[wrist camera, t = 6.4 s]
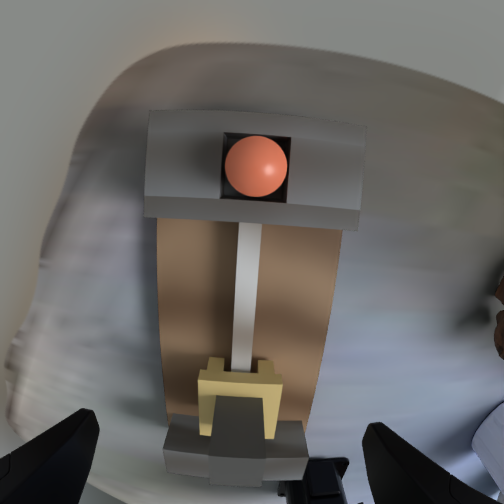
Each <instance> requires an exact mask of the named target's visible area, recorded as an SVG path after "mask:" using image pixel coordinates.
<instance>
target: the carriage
mask: <svg viewBox="0 0 504 504" xmlns="http://www.w3.org/2000/svg"><path fill="white" fill-rule="evenodd" d="M282 387H283V383H282V376H281V374H275V372H274V364H273V361H269V360H258V365H257V373H241V372H225V371H224V358H217V357H209V361H208V366H207V370H201V369H200V373H199V377H198V402H199V427H200V435H206V436H211V439H210V446H209V454H208V462H209V484H212V485H224V486H243V487H261V485H262V480H263V474H264V469H265V463H266V447H265V439H274V435H275V429H276V423H277V417H278V411H279V405H280V399H281V393H282Z"/></svg>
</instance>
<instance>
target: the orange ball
mask: <svg viewBox="0 0 504 504" xmlns="http://www.w3.org/2000/svg"><path fill="white" fill-rule="evenodd" d="M225 171H226V175H227V178H228V180H229V182H230V184H231V185H232V186H233V187H234V188H235V189H236V190H237V191H239V192H240V193H242V194H244V195H247V196H252V197H260V196H265V195H268V194H270V193H272V192H274V191H275V190H276V189H277V188H278V187H279V186H280V185H281V184H282V182H283V181H284V178H285V176H286V172H287V161H286V157H285V154H284V152H283V151H282V149H281V148H280V146H279V145H278V144H276V143H275V142H274V141H272V140H271V139H268V138H266V137H262V136H250V137H246V138H244V139H241V140H240V141H238V142H237V143H236V144H235V145H233V147H232V148H231V149H230V151H229V152H228V155H227V157H226V161H225Z"/></svg>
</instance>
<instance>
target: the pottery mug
mask: <svg viewBox="0 0 504 504" xmlns="http://www.w3.org/2000/svg"><path fill="white" fill-rule="evenodd" d="M495 296H496V298H498V299H499V300H500V301H501V302H502V304H503V305H504V276H503V278H502V280H501V282H500V285H499V286H498V289H497V291H496V293H495ZM496 320H497V327H496V329H495V333H494V342H495V347H496V349H497V351H498V353H499V356H500V357H501V358H502V359H503V360H504V310H502V311H500V312H499V313H498V314H497V315H496Z"/></svg>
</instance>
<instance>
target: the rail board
mask: <svg viewBox="0 0 504 504" xmlns="http://www.w3.org/2000/svg"><path fill="white" fill-rule="evenodd" d="M366 129H367V126H362V125H357V124H351V123H345V122H338V121H331V120H324V119H317V118H309V117H301V116H292V115H282V114H271V113H258V112H242V111H219V110H155V111H150V113H149V124H148V135H147V149H146V166H145V189H144V217H150V218H157V287H158V313H159V332H160V347H161V360H162V372H163V382H164V392H165V401H166V410H167V418H168V426H169V429H168V432H167V436H166V439H165V443H164V446H163V453H164V459H165V464H166V469H167V472H168V473H174V474H181V475H189V476H197V477H207V478H209V462H208V454H209V446H210V439H211V436H206V435H200V427H199V402H198V377H199V373H200V369H201V370H207V366H208V361H209V357H217V358H224V371H225V372H241V373H257V365H258V360H269V361H273V364H274V372H275V374H281V376H282V383H283V387H282V393H281V399H280V405H279V411H278V417H277V423H276V429H275V435H274V439H265V447H266V463H265V469H264V474H263V481H276V480H302V477H303V474H304V471H305V468H306V465H307V462H308V459H309V454H308V449H307V444H306V439H305V430H306V426H307V422H308V418H309V414H310V410H311V406H312V402H313V398H314V393H315V389H316V384H317V380H318V375H319V371H320V366H321V361H322V356H323V351H324V346H325V341H326V335H327V330H328V325H329V319H330V313H331V307H332V301H333V295H334V289H335V282H336V275H337V269H338V261H339V254H340V246H341V238H342V230H348V231H358V225H359V216H360V207H361V198H362V187H363V176H364V163H365V148H366ZM250 136H262V137H266V138H268V139H271V140H272V141H274V142H275V143H276V144H278V145H279V146H280V148H281V149H282V151H283V152H284V154H285V157H286V161H287V172H286V176H285V178H284V181H283V182H282V184H281V185H280V186H279V187H278V188H277V189H276V190H275V191H274V192H272V193H270V194H268V195H265V196H260V197H252V196H247V195H244V194H242V193H240V192H239V191H237V190H236V189H235V188H234V187H233V186H232V185H231V184H230V182H229V180H228V178H227V175H226V171H225V161H226V157H227V155H228V152H229V151H230V149H231V148H232V147H233V145H235V144H236V143H237V142H238V141H240V140H241V139H244V138H246V137H250Z"/></svg>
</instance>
